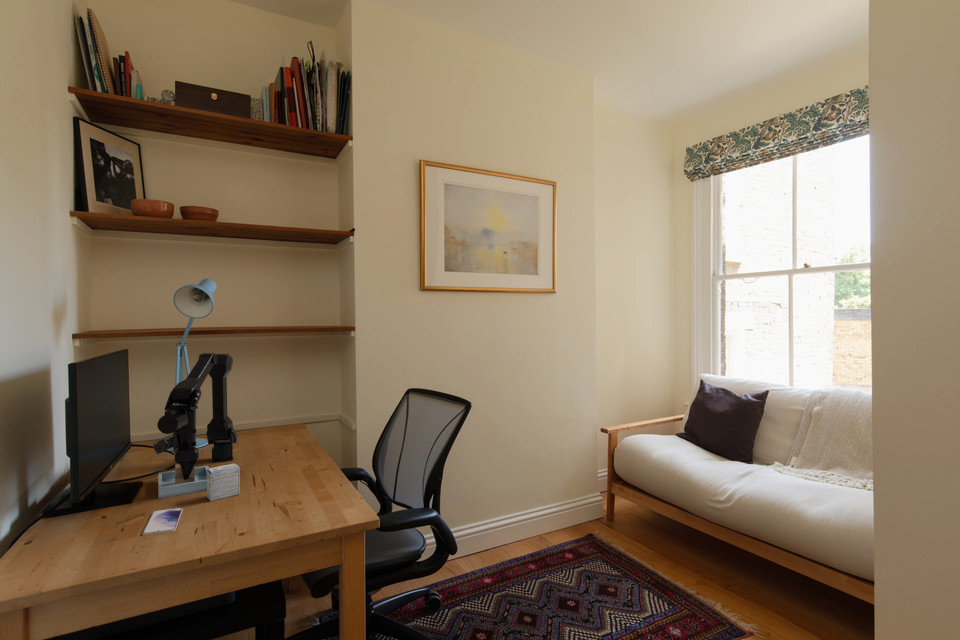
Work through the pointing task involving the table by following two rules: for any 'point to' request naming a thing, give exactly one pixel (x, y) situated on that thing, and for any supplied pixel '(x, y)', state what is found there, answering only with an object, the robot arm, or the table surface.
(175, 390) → the robot arm
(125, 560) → the table surface
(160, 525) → the smartphone
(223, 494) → the medicine box
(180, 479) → the walnut block
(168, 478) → the tray
